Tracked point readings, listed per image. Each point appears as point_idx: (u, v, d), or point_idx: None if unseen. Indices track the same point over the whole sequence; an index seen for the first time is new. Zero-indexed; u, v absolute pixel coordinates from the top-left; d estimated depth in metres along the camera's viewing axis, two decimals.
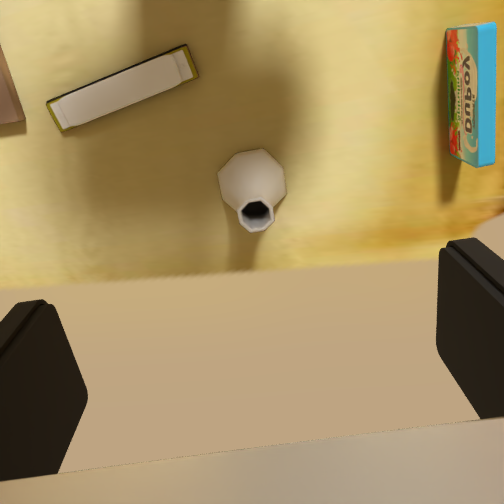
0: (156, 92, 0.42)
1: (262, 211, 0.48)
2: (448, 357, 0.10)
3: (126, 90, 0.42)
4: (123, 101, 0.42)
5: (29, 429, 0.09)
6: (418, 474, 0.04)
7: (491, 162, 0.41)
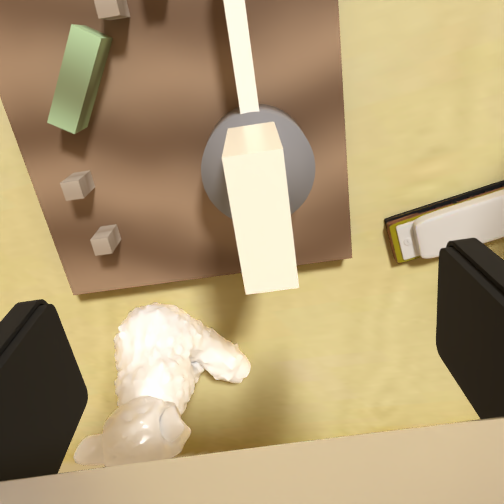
0: None
1: None
2: (448, 357, 0.10)
3: None
4: None
5: (29, 429, 0.09)
6: (418, 473, 0.04)
7: None
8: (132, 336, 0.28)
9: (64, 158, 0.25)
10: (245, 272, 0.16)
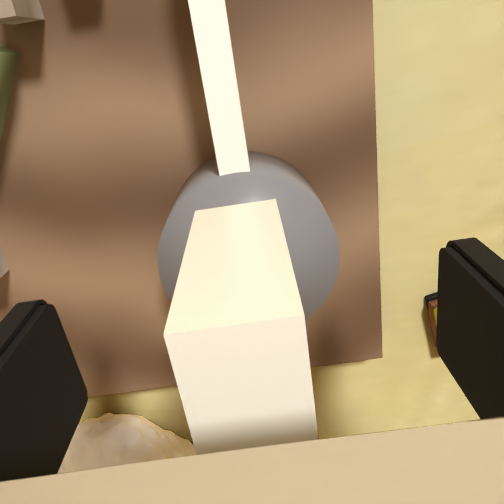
0: None
1: None
2: (448, 357, 0.10)
3: None
4: None
5: (29, 429, 0.09)
6: (418, 474, 0.04)
7: None
8: None
9: None
10: None
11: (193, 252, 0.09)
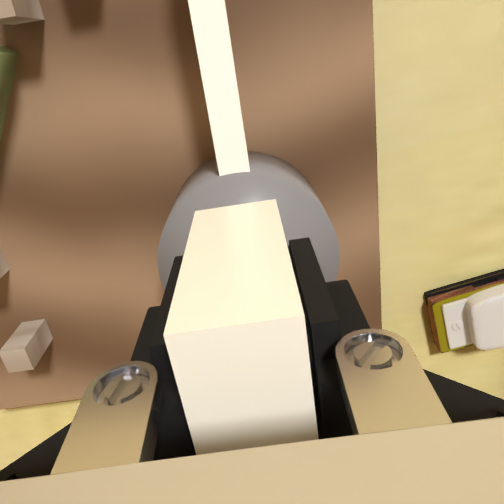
0: None
1: None
2: None
3: None
4: None
5: None
6: (418, 474, 0.04)
7: None
8: None
9: None
10: None
11: (193, 252, 0.09)
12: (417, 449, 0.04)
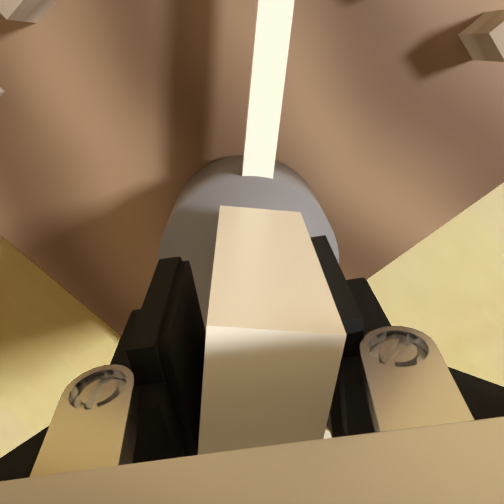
0: None
1: None
2: None
3: None
4: None
5: (191, 365, 0.10)
6: (419, 475, 0.04)
7: None
8: None
9: None
10: None
11: (225, 247, 0.09)
12: (417, 449, 0.04)
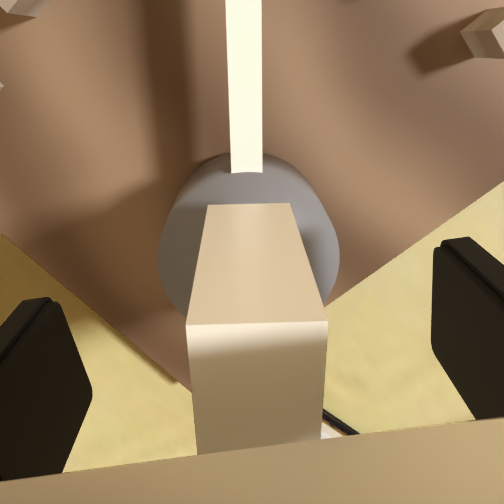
0: None
1: None
2: (443, 355, 0.11)
3: None
4: None
5: (35, 425, 0.09)
6: (419, 474, 0.04)
7: None
8: None
9: None
10: None
11: (209, 246, 0.09)
12: (417, 449, 0.04)
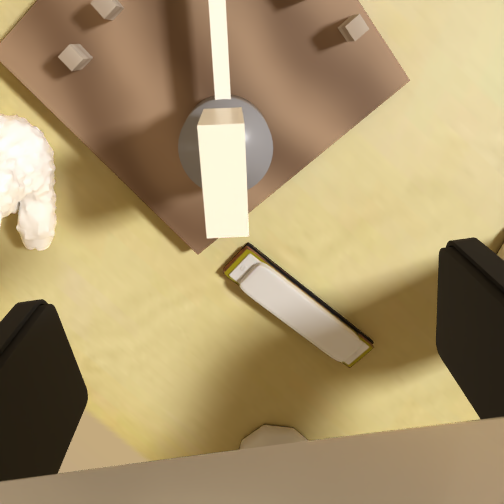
0: (320, 348, 0.37)
1: None
2: (448, 357, 0.10)
3: (308, 323, 0.36)
4: (295, 324, 0.36)
5: (29, 429, 0.09)
6: (418, 473, 0.04)
7: None
8: (4, 133, 0.27)
9: None
10: (208, 219, 0.21)
11: (204, 115, 0.21)
12: (417, 449, 0.04)
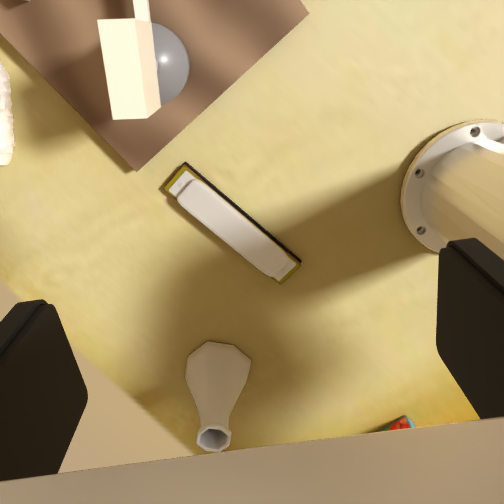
0: (251, 262, 0.42)
1: None
2: (448, 357, 0.10)
3: (239, 237, 0.41)
4: (228, 238, 0.41)
5: (29, 429, 0.09)
6: (418, 473, 0.04)
7: None
8: None
9: None
10: (112, 102, 0.26)
11: None
12: (417, 449, 0.04)
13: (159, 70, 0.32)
